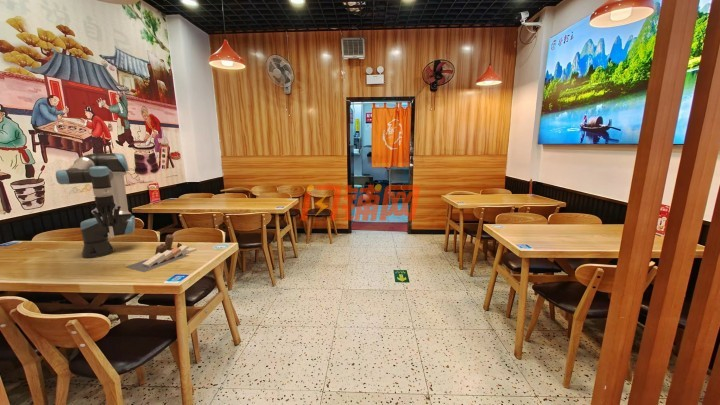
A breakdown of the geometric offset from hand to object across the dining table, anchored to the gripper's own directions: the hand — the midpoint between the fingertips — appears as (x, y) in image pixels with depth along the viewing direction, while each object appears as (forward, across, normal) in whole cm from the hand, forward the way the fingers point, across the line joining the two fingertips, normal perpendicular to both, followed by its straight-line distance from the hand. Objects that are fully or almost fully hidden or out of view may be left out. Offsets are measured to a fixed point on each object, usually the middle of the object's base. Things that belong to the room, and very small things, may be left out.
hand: (111, 237), depth 159 cm
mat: (+19, +15, -12) cm, 27 cm away
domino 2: (+17, +12, -14) cm, 25 cm away
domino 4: (+17, +22, -14) cm, 31 cm away
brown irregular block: (+20, +30, 0) cm, 36 cm away
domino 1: (+17, +7, -14) cm, 23 cm away
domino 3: (+17, +17, -14) cm, 28 cm away
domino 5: (+17, +28, -14) cm, 35 cm away
